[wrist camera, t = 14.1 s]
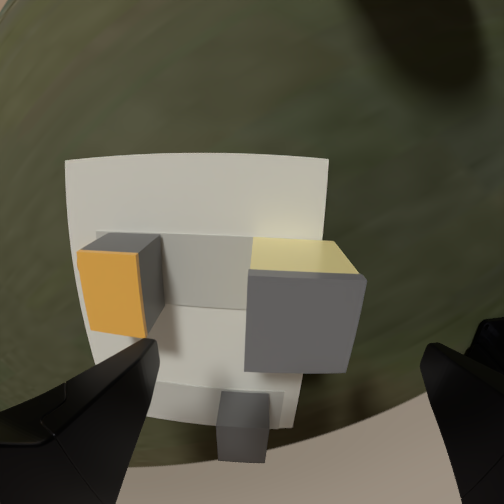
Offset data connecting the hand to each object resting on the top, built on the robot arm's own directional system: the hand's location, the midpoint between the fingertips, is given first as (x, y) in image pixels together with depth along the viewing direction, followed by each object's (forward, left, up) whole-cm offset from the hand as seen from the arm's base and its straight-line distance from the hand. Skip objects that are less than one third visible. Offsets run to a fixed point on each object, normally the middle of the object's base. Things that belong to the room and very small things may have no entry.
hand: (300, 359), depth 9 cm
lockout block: (0, 0, -7) cm, 7 cm away
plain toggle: (+2, +10, -7) cm, 12 cm away
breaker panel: (+5, +3, -9) cm, 10 cm away
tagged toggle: (+8, 0, -7) cm, 10 cm away
